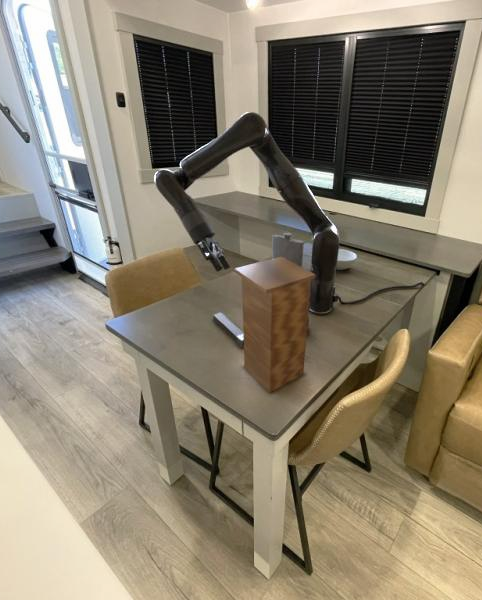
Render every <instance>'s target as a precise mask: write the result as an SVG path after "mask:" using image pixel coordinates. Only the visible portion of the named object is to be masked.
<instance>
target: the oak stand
mask: <svg viewBox="0 0 482 600" xmlns="http://www.w3.org/2000/svg"><path fill="white" fill-rule="evenodd" d="M233 272H234V273H235V274H236V275H238V276H240V277H241V296H242V298H241V303H242V325H243V326H242V332H243V336H244V348H243V360H244V361H243V362H244V368H245V369H246V370H247V372H249V373H250V375H252V376H253V377H254V378H255V380H257V381H258V382H259V383H260V384H261V385H262V386H263V387H264V388H265V389H266V390H267V392H269V393H272V392H273V391H275V390H277V389H280V388H281V387H283V386H285V385H287V384H288V383H290V382H293V381H294V380H295V379H298V378H300V377H301V376H303V375H304V371H305V370H304V369H305V356H306V347H307V346H306V345H307V335H308V332H307V323H308V317H309V313H308V311H309V299H310V286H311V279H314V278H316V274H314V273H312V272H311V270H308V269H306V268H304V267H303V266H302V267H300V266H299V265H297V264H295V263H293V262H291V261H289V260H287V259H285V258H283V257H278V258H274V259H272V258H270V259H267V260H263V261H259V262H255V263H251V264H247V265H242V266H238V267H235V268H233ZM309 312H310V311H309Z"/></svg>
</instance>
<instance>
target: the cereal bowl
mask: <svg viewBox="0 0 482 600" xmlns="http://www.w3.org/2000/svg"><path fill="white" fill-rule="evenodd" d="M357 259H358V255H357V254H356V253H355V252H353V251H351V250H349V249H344V248H339V251H338V259H337V266H336V271H343V270H347V269H351V268H352V267H354V266H355V264H356V262H357Z"/></svg>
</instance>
